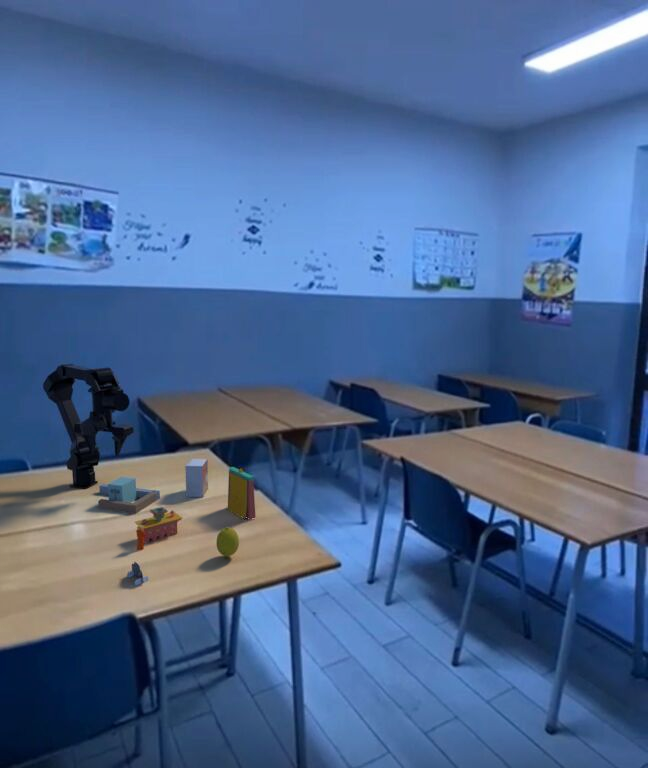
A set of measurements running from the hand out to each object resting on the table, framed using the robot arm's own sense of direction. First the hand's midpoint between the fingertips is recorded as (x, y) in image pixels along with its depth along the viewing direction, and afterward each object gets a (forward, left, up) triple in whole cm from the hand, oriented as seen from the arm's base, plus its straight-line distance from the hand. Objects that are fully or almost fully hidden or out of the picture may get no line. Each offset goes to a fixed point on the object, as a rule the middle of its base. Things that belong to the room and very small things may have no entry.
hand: (104, 454), depth 183 cm
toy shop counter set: (+39, -16, -14) cm, 44 cm away
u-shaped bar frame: (+8, -6, -13) cm, 16 cm away
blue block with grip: (+10, -5, -13) cm, 17 cm away
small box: (+28, +9, -13) cm, 32 cm away
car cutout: (+45, -47, -14) cm, 67 cm away
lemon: (+57, -29, -13) cm, 65 cm away
